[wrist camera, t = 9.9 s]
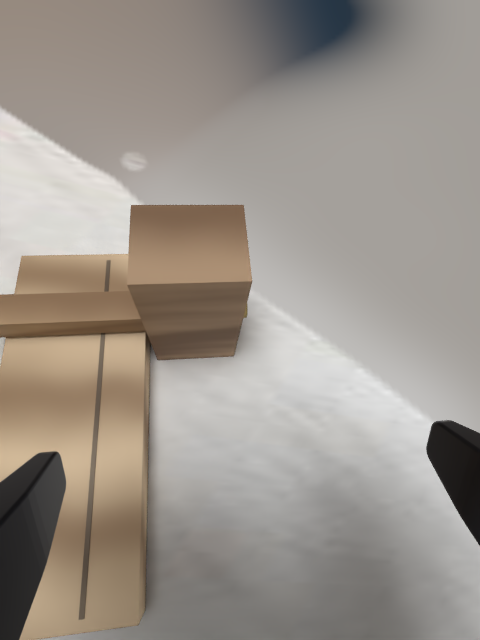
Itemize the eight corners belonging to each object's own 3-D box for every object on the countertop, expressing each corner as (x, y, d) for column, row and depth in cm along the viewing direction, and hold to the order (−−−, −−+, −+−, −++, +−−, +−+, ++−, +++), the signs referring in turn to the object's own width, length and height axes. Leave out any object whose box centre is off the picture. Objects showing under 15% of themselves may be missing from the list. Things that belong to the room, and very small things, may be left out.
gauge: (243, 355, 24) (267, 280, 15) (2, 368, 22) (-143, 291, 13) (238, 302, 25) (257, 205, 16) (13, 310, 23) (-109, 205, 14)
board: (145, 609, 18) (138, 626, 16) (-27, 632, 17) (-56, 652, 15) (151, 269, 26) (147, 253, 24) (35, 272, 25) (21, 255, 23)
